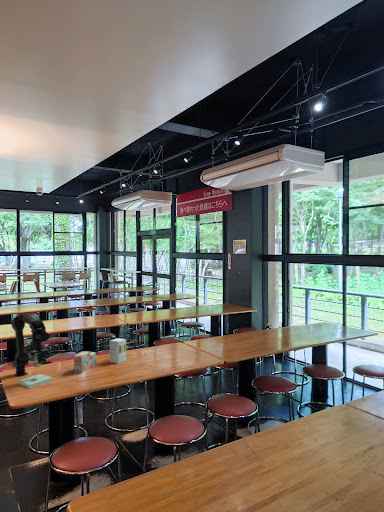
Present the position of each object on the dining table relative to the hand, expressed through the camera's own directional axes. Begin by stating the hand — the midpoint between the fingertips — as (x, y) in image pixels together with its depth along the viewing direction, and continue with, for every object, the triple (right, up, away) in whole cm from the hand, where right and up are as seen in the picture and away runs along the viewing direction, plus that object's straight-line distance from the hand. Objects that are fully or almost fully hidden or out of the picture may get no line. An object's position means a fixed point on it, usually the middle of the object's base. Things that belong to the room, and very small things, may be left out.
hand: (37, 363), depth 228 cm
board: (-1, -12, -1) cm, 12 cm away
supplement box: (+44, -12, +42) cm, 63 cm away
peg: (0, -2, 0) cm, 2 cm away
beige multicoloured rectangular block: (+24, -12, +26) cm, 37 cm away
